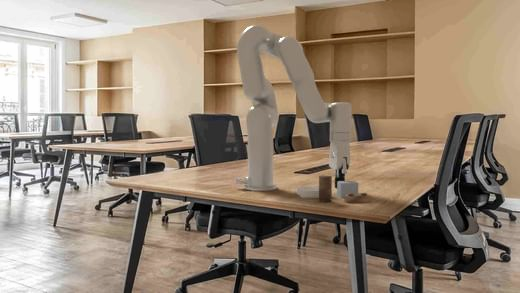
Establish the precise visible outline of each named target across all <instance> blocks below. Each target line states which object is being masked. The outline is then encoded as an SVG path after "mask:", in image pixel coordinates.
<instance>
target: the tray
mask: <svg viewBox="0 0 520 293" xmlns="http://www.w3.org/2000/svg"><path fill="white" fill-rule="evenodd" d="M296 194H297V195H298V196H299V197H300V198H302V199H304V200H305V199H306V200H307V199H319V185H297V186H296ZM332 198H333V195H332V196H331V199H332Z"/></svg>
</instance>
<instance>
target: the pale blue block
mask: <svg viewBox="0 0 520 293" xmlns="http://www.w3.org/2000/svg"><path fill="white" fill-rule="evenodd" d="M336 190H337V191H336V193H337V194H336V195H337V196H338V197H339V198H341V199H342V198H343V199H344V195H348V193H353V194H354V195H359V181H355V180H345V181H337V189H336Z"/></svg>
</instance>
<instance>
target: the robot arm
mask: <svg viewBox="0 0 520 293" xmlns="http://www.w3.org/2000/svg"><path fill="white" fill-rule="evenodd" d="M236 46H237V47H236V53H237V59H238V61H237V62H238V64H239V65H238V66H239V73H240V77H241V78H240V79H241V83H242V89H243V90H242V91H243V93H244V96H245V97H246V99H248V100H249V101H251V104H252V107H250V108H249V110H248V111H247V113H246V117H245V123H246V134H247V175H246V177H243V178H235V184H240V185H241V184H242V185H243V184H244V185H243V189H244V190H247V191H254V192H267V191H274V190H277V189H278V185H277V184H276V183H275V184H274V135H273V134H274V133H273V132H274V131H273V128H274V127H276V125H277V123H278V121H279V112H278V105H277V102H276V101H277V100H276V95H275V90H274V87H273V84H272V83H271V81H270V80H269V79H268V78H266V77H265V74H264V73H265V72H264V67H263V61H262V59H261V53H263V54H264V55H268V56H271V57H273V58H276V59H279V60H280V62H281V64H282V65H283V66H282V67H284V70H285V72H286V74H287V76H288V78H289V80H290V82H291V85H292V88H293V89H294V92H295V95H296V97H297V100H298V101H299V104H300V106H301V108H302V110H303V112H304V113H305V116H306V118H307V119H308V120H309V121H310V122H312V123H313V124H321V123H322V124H323V123H329V142H330V144H329V155H328V156H329V157H328V166H329V167H330V168H331V169H333V171H334V188H335V189H336V190H337V181H346V174H347V170H349V169H350V168H351V147H350V143H351V142H352V110H353V109H352V108H353V107H352V104H351V103H350V102H344V101H343V102H341V101H339V102H336V101H335V102H333V103H332V102H331V103H329V102H324V100H323V98H322V96H321V94H320V92H319V88H318V87H317V84H316V81H315V75H314V71H313V69H312V67H311V65H310V63H309V61H308V59H307V57H306V54H305V53H304V50H303V49H304V48H303V45H302V44H301V42H300V41H299V40H298V39H296V38H295V37H294V36H290V35H289V36H282V35H279V34H277V33H274V32H272V31H270V30H269V29H267V27H265V26H263V25H259V24H253V25H251V26H248V27H247V28H246V29H245V30H244V31H242V33H241V35H240V36H239V39H238V40H237V45H236Z"/></svg>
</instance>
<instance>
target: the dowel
mask: <svg viewBox="0 0 520 293" xmlns="http://www.w3.org/2000/svg"><path fill="white" fill-rule="evenodd" d="M332 178H333V177H332V176H331V175H318V186H319V198H318V202H320V203H332V198H331V196H332V197H333V190H332V188H333V186H332V185H333V184H332V183H333V182H332Z"/></svg>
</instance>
